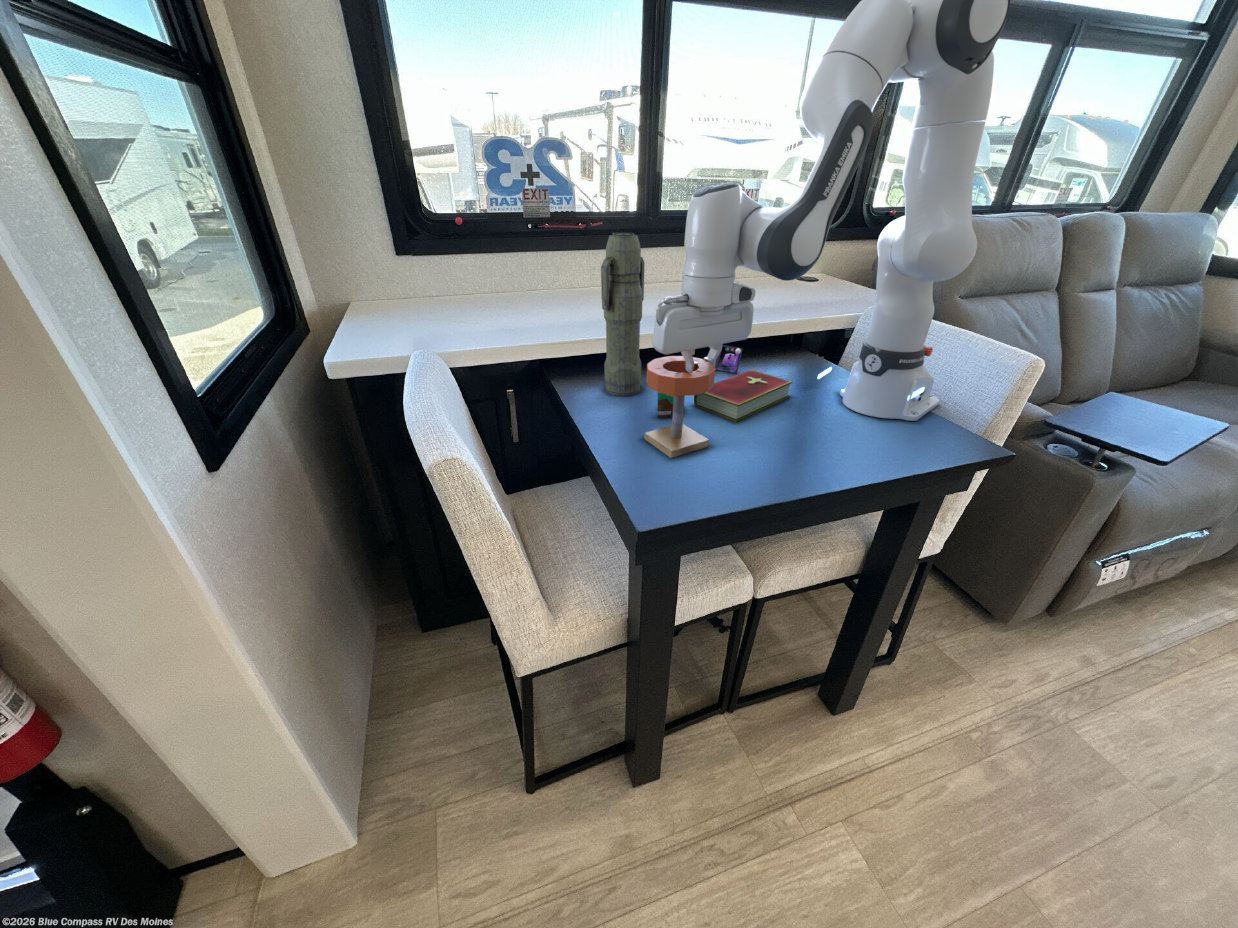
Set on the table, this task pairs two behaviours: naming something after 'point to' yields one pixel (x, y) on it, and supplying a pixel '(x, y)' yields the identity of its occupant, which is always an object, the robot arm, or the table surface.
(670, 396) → the food container
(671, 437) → the stand
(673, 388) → the ring
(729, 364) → the purple rectangular box
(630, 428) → the table surface
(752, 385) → the hardcover book
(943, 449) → the table surface
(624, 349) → the grey-green tall cylinder
